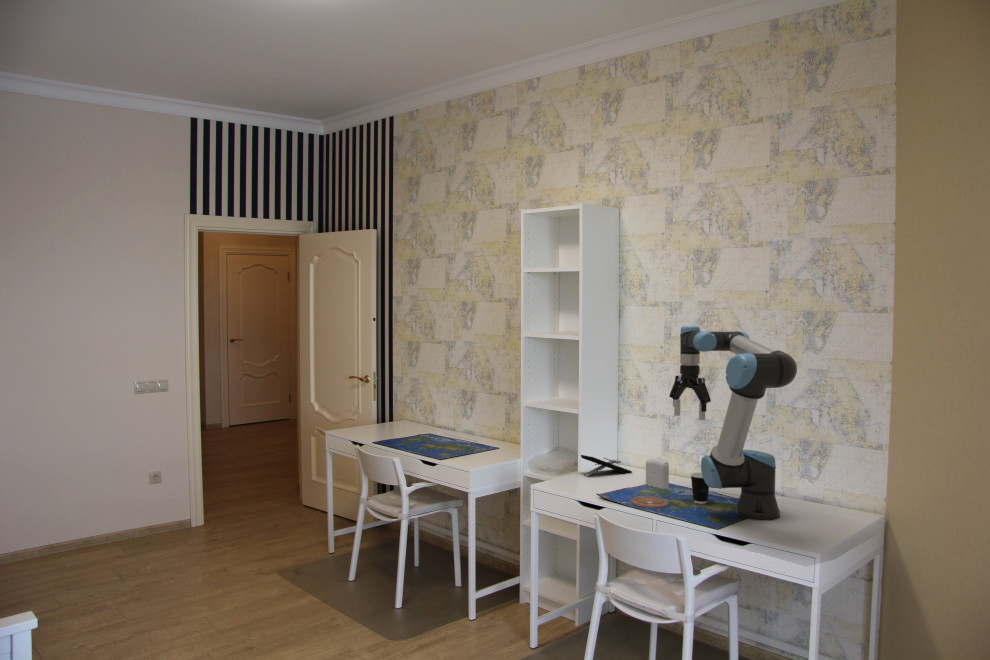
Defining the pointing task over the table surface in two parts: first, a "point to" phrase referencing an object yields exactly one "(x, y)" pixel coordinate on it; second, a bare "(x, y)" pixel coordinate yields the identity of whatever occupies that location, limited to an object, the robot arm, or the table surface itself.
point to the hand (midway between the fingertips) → (689, 417)
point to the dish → (650, 501)
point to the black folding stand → (604, 465)
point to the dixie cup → (699, 488)
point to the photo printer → (657, 473)
